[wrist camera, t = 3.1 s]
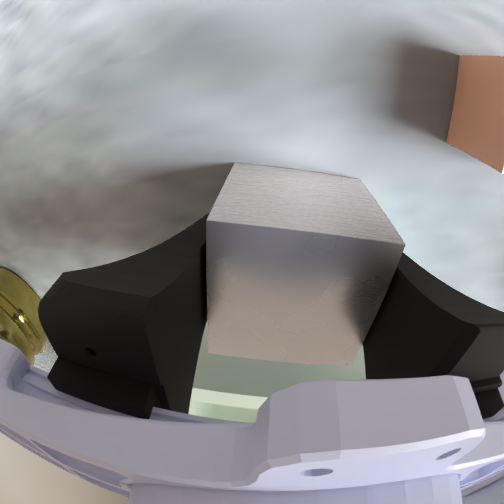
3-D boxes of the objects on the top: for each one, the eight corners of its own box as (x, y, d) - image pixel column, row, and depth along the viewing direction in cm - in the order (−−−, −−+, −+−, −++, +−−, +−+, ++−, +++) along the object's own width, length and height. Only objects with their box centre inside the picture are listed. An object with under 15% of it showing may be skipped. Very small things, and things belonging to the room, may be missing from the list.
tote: (443, 323, 15) (471, 389, 11) (361, 430, 23) (366, 475, 19) (189, 303, 15) (163, 381, 11) (202, 421, 23) (192, 469, 19)
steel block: (360, 179, 11) (405, 244, 7) (334, 279, 14) (351, 365, 10) (234, 162, 11) (206, 220, 7) (228, 268, 14) (208, 352, 10)
